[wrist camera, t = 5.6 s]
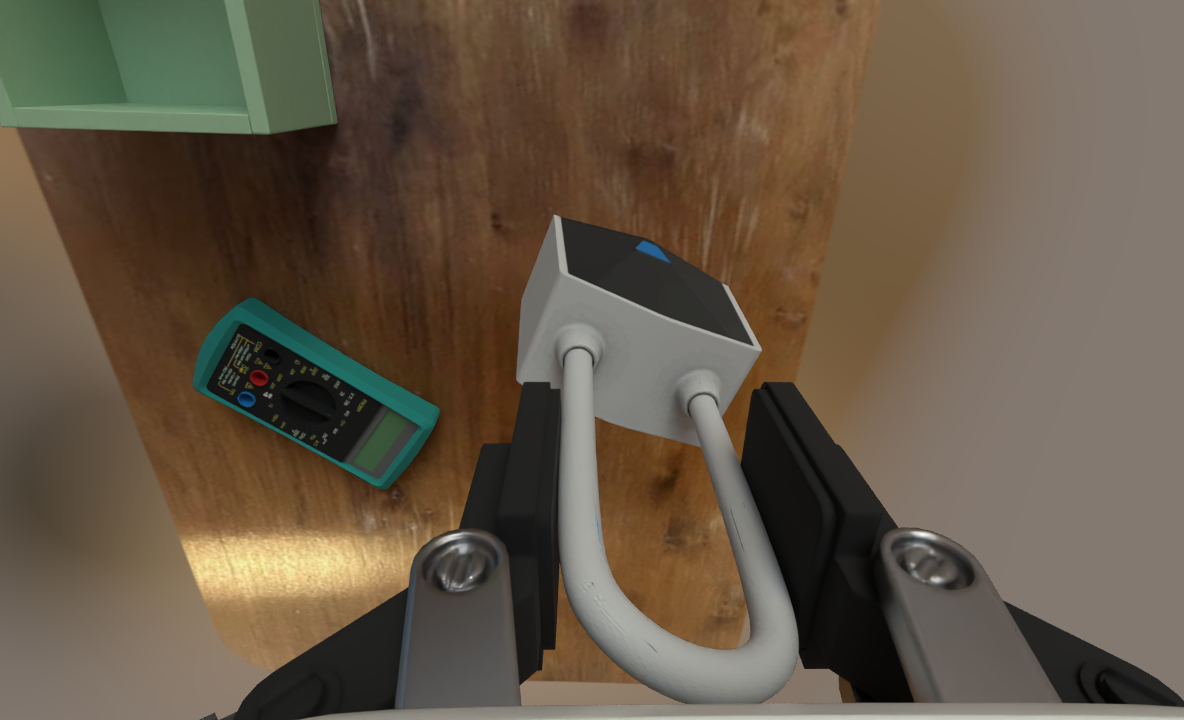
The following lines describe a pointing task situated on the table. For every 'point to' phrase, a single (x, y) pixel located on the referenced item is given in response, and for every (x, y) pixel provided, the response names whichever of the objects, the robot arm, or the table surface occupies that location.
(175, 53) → the holder
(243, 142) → the table surface
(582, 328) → the padlock
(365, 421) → the digital multimeter
